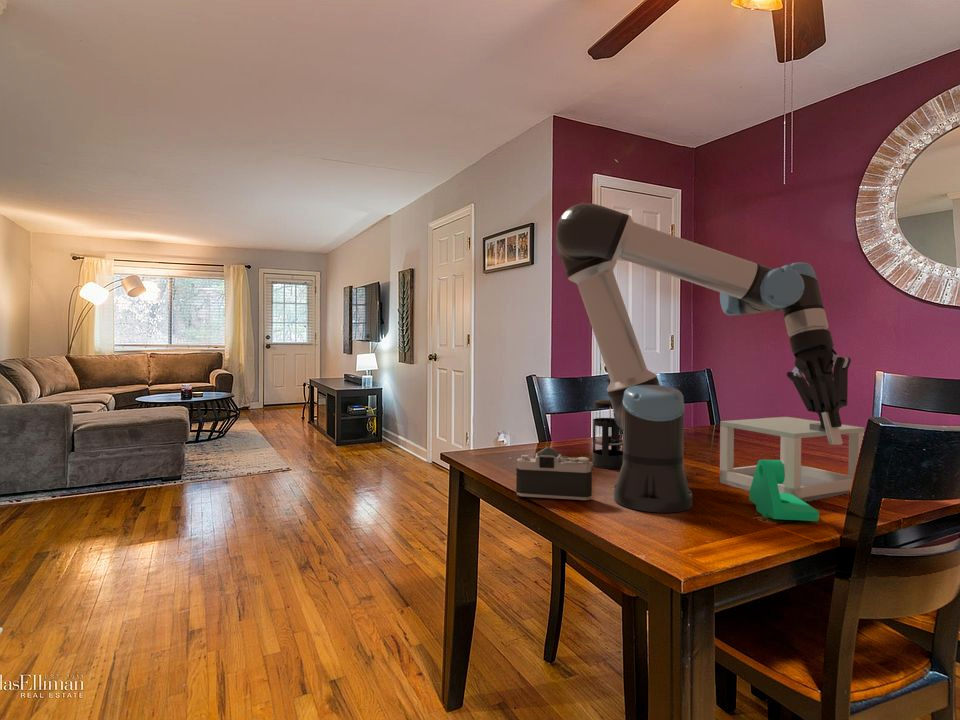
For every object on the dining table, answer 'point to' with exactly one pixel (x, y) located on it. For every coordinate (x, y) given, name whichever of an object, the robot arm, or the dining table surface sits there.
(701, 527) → the dining table surface
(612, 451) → the french press
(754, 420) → the lid
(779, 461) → the camera mount
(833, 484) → the frame
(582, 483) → the camera
